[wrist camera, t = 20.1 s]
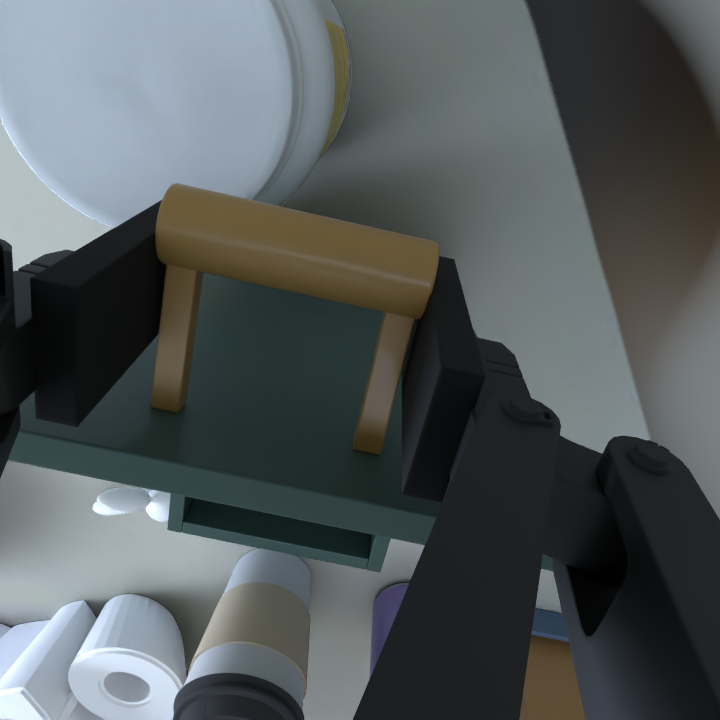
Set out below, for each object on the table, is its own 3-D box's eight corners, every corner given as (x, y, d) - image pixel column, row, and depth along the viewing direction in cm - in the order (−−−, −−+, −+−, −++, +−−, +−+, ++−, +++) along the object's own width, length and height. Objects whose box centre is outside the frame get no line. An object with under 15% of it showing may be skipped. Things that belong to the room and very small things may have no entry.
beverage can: (366, 583, 52) (355, 764, 39) (435, 575, 52) (448, 757, 38) (380, 631, 55) (375, 816, 42) (446, 624, 54) (462, 810, 41)
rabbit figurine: (190, 524, 51) (85, 529, 47) (189, 477, 52) (88, 478, 48) (210, 514, 46) (96, 518, 42) (209, 462, 47) (99, 462, 43)
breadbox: (382, 506, 49) (380, 572, 42) (197, 468, 48) (167, 530, 42) (450, 273, 40) (460, 313, 33) (224, 222, 39) (191, 253, 33)
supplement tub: (101, 48, 35) (-127, 40, 20) (260, -112, 31) (128, -270, 16) (241, 220, 39) (140, 323, 24) (397, 97, 35) (395, 126, 20)
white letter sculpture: (-74, 713, 64) (-155, 825, 55) (-158, 601, 57) (-268, 708, 48) (242, 691, 60) (213, 809, 50) (193, 567, 53) (148, 678, 43)
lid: (579, 578, 13) (687, 313, 11) (-112, 437, 13) (-126, 132, 11) (459, 323, 33) (490, 211, 31) (187, 263, 33) (202, 145, 31)
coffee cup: (344, 568, 52) (325, 747, 38) (291, 628, 55) (257, 810, 42) (251, 520, 50) (197, 690, 37) (203, 585, 54) (138, 761, 40)
